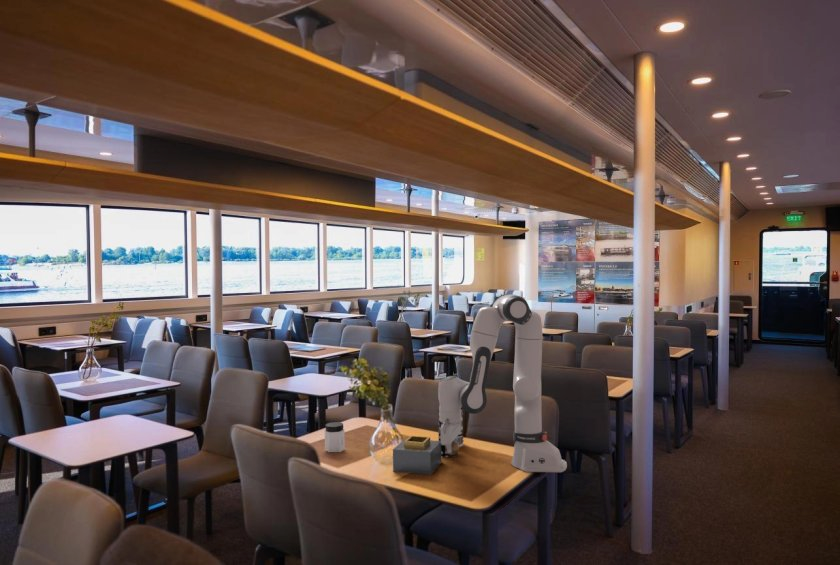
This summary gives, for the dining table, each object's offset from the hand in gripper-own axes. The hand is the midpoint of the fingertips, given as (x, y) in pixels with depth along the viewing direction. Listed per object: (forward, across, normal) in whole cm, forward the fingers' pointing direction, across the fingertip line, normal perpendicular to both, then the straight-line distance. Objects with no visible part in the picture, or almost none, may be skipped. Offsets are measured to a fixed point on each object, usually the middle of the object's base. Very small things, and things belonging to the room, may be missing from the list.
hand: (451, 450), depth 237 cm
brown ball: (+2, 0, 0) cm, 2 cm away
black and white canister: (+8, +34, +8) cm, 36 cm away
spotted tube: (+8, +19, +7) cm, 22 cm away
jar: (+6, +12, +59) cm, 60 cm away
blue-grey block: (+8, 0, +15) cm, 17 cm away
